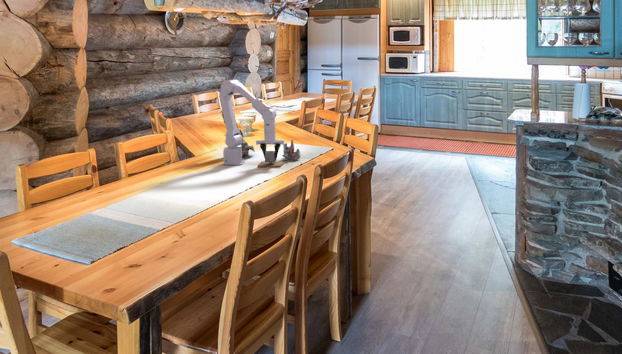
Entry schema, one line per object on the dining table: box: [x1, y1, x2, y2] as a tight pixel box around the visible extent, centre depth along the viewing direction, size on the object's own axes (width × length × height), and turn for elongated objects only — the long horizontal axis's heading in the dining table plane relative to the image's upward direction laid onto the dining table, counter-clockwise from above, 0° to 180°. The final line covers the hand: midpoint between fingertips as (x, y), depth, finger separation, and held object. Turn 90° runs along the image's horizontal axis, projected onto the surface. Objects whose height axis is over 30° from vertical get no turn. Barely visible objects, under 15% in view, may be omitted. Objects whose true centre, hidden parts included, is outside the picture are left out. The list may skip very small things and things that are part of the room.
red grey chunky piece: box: [281, 139, 302, 161], centre depth 311 cm, size 11×11×12 cm
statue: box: [220, 110, 256, 157], centre depth 321 cm, size 16×18×30 cm
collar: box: [264, 150, 277, 162], centre depth 295 cm, size 5×5×5 cm
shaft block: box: [257, 161, 285, 168], centre depth 296 cm, size 12×10×4 cm
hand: (270, 158), depth 295 cm, fingers closed on collar, 5 cm apart
